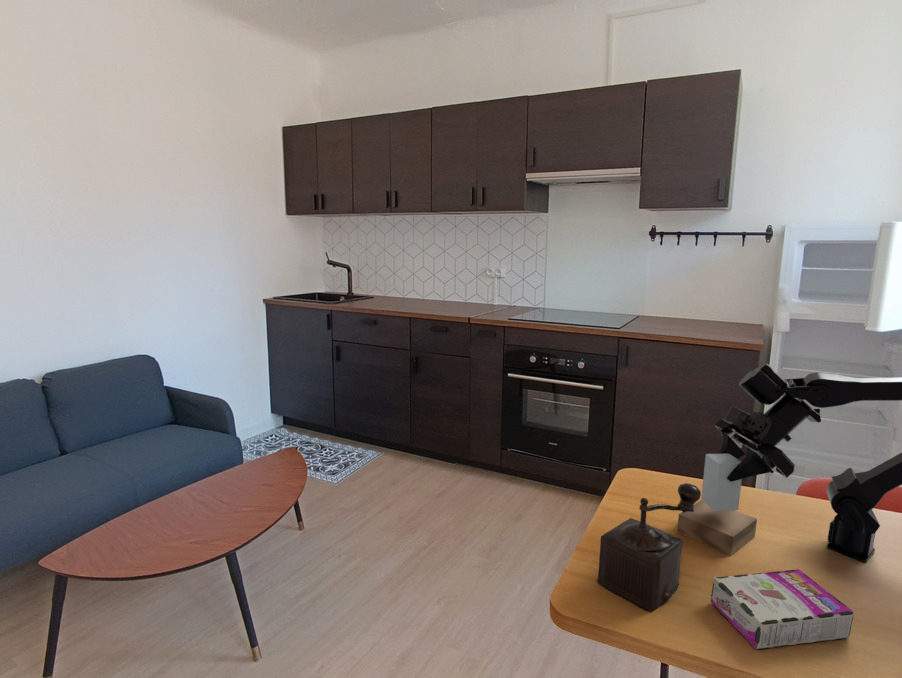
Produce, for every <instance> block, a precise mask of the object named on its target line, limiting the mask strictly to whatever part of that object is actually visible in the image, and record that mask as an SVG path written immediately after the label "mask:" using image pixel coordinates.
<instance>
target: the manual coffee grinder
mask: <svg viewBox="0 0 902 678" xmlns="http://www.w3.org/2000/svg"><path fill="white" fill-rule="evenodd" d="M677 493H678V495H679V498H680V500H679V502H678V503H677V506H676V505H671V504H663V503H656V504H651V505H648V504H649V500H648V498H646V497H642V498H641V499H640V500H639V501H640V502H639V503H640V505H639V510H640V519H639V520H637V519H635V518H632V517H630V518H628V519H627V520H626V519H625V521H623V522H621V523H620V524H618V525H617V526H615V527H613V528H611V530H608V531H607V532H605V533H604V534H602V535H601V536H600V548H599V559H598V560H599V563H598V575H597V585H599V586H601V587H602V588H604V589H606V590H607V591H609V592H611V593H613V594H615V595H616V596H619V597H620V598H622V599H623V600H625V601H627V602H629V603H630V604H632V605H635V606H636V607H638V608H640V609H642V610H643V611H646V612H649V613H652V612H653V611H655V610H657V608H659V607H660V606H662V605H663V604H664V603H666V602H668V601H669V600H670V599H671V598H672V597H673V594H674V593H675V592H676V591H677V590H678V587H679V586H680V575H681V574H680V573H681V564H682V563H681V562H682V553H683V544H684V539H682V538H680V537H678V536H676V535H674V534H672V533H669V532H667V531H665V530H662V529H659V528H657V527H655V526H653V525H650V524H648V523H647V512H652V511H656V510H668V511H669V510H670V511H677V512H678V511H680V512H683V513H685V512H687V511H689V512H694V508H693V505H695V504H696V502H697V501H698V502H699V501H700V498H701V497H702V491H701V490H700V488H698V486H697V485H694V484H692V483H687V482H685V483H680V484H679V485H678V487H677Z"/></svg>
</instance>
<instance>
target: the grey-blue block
mask: <svg viewBox="0 0 902 678" xmlns="http://www.w3.org/2000/svg"><path fill="white" fill-rule="evenodd" d="M741 462H742V460H739V458H738V459H736V458H735V457H733V456H732V455H730V454H719V453H705V458H704V466H703V467H704V469H703V478H702V490H701V496H700V498H701V500H703V501H704V502H705V503H706V504H707V505H709V506H710V507H711V508H712V509H713V510H714V511H724V510H735V511H739V508H740V507H739V506H740V498H741V490H742V481H743V479H740V480H736V481H733V482H730V481H729V480H728V479H727V477H728V476H729V474H730V473H731V472H732V471H733V470H734V469H735V468H736V467H737V466H738V465H739V464H740V463H741Z"/></svg>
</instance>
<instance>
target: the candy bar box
mask: <svg viewBox="0 0 902 678" xmlns="http://www.w3.org/2000/svg"><path fill="white" fill-rule="evenodd" d="M710 603H711V604H712V605H713V606H714V607H715V608H716V609H717V610H718V611H719V612H720V613H721V614H722V615H723V617H725V618H726V619H727V621H729V623H730V624H732V626H733V627H734V628H735V629H736V630H737V631H738V632H739V633H740V635H742V637H744V638H745V640H747V642H749V644H750V645H751V646H752V647H753V648H754V649H755V650H761V649H762V650H763V649H769V648H778V647H784V646H785V647H786V646H795V645H803V644H809V643H816V642H817V643H818V642H826V641H827V642H828V641H833V640H842V639H849V638H850V636H851V633H852V624H853V619H854V615H855V612H854V611H853V609H851V608H850V607H849V606H847V605H846V604H845V603H843V602H842V601H841V600H840V599H838V598H837V597H836V596H834V595H833V594H831V592H829V591H828V590H826V589H825V588H824V587H823V586H821V585H820V584H818V583H817V582H816V581H815V580H813V579H812V578H811V577H810V576H808V575H807V574H806V573H804V571H802V570H800V569H799V568H797V569H787V570H777V571H768V572H767V571H766V572H759V573H758V572H757V573H749V574H748V573H747V574H737V575H729V576H728V575H726V576H725V575H724V576H717V577H713V579H712V589H711V594H710Z"/></svg>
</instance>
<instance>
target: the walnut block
mask: <svg viewBox="0 0 902 678" xmlns="http://www.w3.org/2000/svg"><path fill="white" fill-rule="evenodd" d="M693 508H694V512H689V511H687V512H685V513H683V511H681V512H680V513H678V520H677V528H676V529H677V530H676V532H677V533H678V534H681V535H683V536H686V537H687V538H690V539H693V540H694V541H697V542H700V543H701V544H704V545H706V546H708V547H710V548H713V549H714V550H717V551H720V552H722V553H724V554H725V555H728V556H733V554H735V553H736V552H737V551H739V550H740V549H741V548H743V547H744V546H745V545H746V544H747V543H749V542H750V541H751V540H752V539H754V538H755V537H756V531H757V522H758V518H756V517H754V516H751V515H748V514H745V513H743V512H740V511H739V510H724V511H714V510H713V509H712V508H711V507H710V506H709V505H707V504H706V503H705V502H704V501H703V500H702V499H701V500H699V501H698V502H697V503H696V502H695V504H694V505H693Z"/></svg>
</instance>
